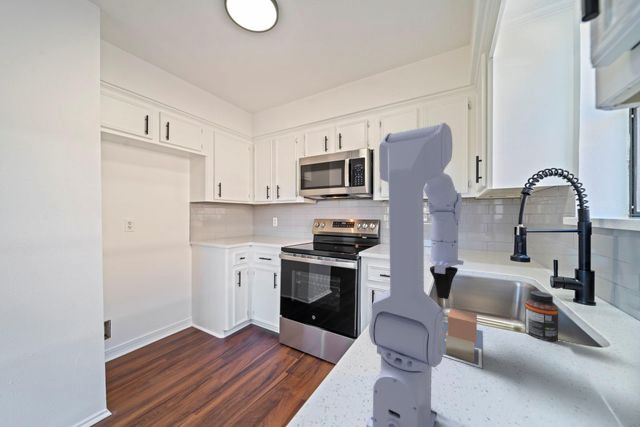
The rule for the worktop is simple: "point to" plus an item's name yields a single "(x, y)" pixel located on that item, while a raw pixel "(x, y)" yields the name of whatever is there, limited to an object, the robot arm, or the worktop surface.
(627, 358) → the worktop surface
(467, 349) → the cream block
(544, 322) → the supplement bottle
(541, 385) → the worktop surface
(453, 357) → the board
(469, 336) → the terracotta block
